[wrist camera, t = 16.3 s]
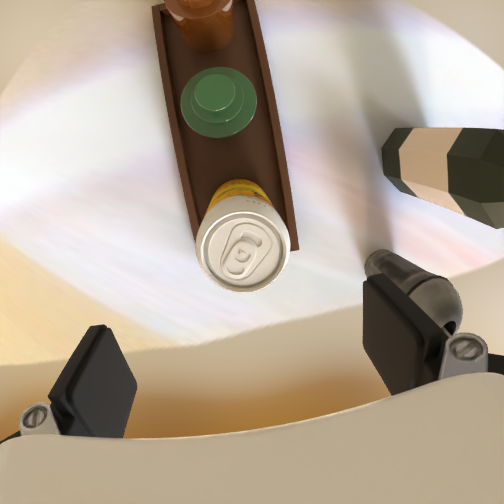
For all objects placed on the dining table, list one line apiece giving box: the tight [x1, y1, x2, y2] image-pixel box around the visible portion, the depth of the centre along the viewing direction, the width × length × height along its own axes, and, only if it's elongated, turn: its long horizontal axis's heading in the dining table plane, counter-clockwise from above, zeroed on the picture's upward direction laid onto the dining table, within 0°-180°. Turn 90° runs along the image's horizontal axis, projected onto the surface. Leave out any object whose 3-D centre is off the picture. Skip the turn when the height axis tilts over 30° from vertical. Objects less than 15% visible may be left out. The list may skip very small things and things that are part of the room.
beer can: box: [196, 179, 290, 293], centre depth 26 cm, size 6×6×15 cm
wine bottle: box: [382, 128, 504, 229], centre depth 18 cm, size 8×8×30 cm
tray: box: [152, 0, 299, 251], centre depth 29 cm, size 11×30×3 cm, turn 10°
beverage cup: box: [365, 250, 463, 338], centre depth 27 cm, size 7×7×20 cm
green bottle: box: [181, 67, 257, 141], centre depth 23 cm, size 6×6×14 cm
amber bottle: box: [164, 0, 234, 54], centre depth 20 cm, size 6×6×14 cm
